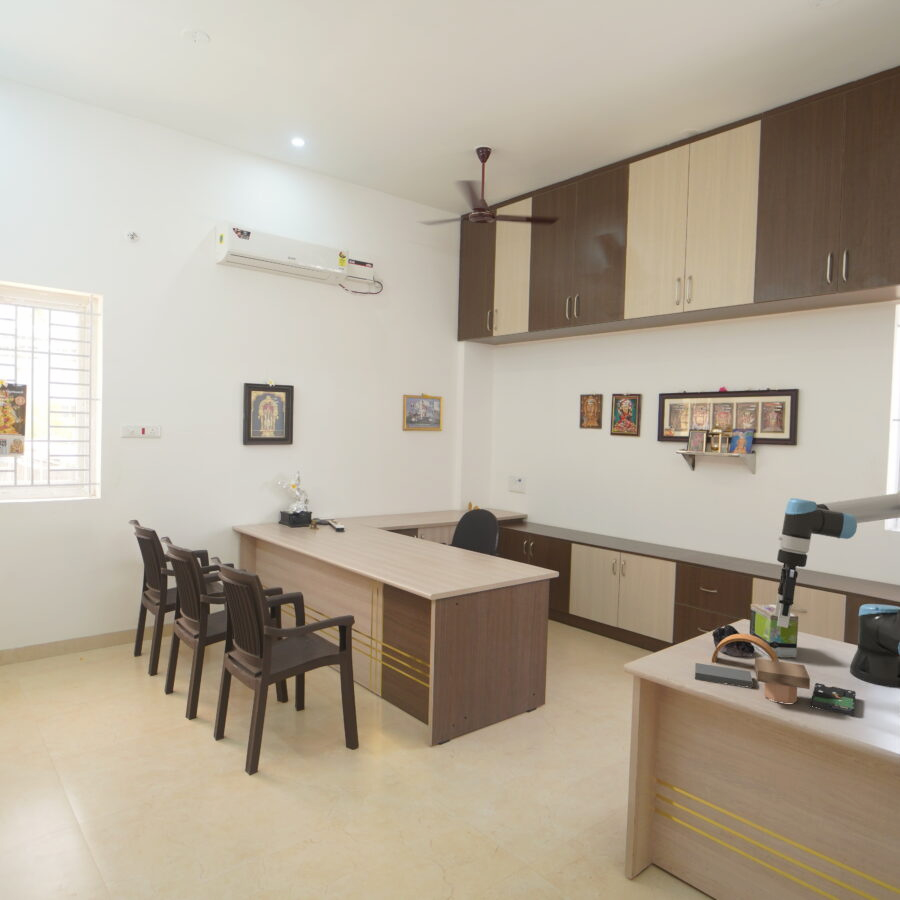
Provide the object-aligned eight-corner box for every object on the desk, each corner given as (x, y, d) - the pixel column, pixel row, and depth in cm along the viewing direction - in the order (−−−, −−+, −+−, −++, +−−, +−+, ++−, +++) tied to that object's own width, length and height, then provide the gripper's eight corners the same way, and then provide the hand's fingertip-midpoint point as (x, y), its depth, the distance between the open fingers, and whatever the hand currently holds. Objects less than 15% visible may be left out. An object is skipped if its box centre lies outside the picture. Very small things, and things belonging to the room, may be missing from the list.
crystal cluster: (755, 650, 224) (753, 622, 224) (754, 659, 211) (753, 629, 212) (714, 647, 229) (713, 619, 230) (712, 655, 217) (710, 626, 218)
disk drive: (814, 691, 188) (810, 708, 176) (814, 682, 188) (811, 698, 176) (855, 700, 183) (854, 718, 170) (855, 690, 183) (855, 708, 170)
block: (750, 677, 197) (750, 671, 196) (752, 688, 188) (752, 681, 188) (695, 669, 202) (695, 662, 202) (694, 679, 194) (695, 672, 194)
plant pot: (793, 695, 184) (794, 675, 183) (797, 706, 176) (798, 685, 176) (763, 690, 187) (764, 670, 186) (765, 701, 179) (766, 680, 179)
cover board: (803, 675, 184) (804, 665, 184) (809, 689, 174) (809, 678, 174) (754, 667, 189) (754, 657, 189) (757, 681, 179) (757, 670, 178)
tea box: (797, 658, 215) (799, 615, 214) (768, 657, 215) (770, 614, 214) (775, 643, 230) (777, 603, 229) (747, 642, 230) (749, 602, 229)
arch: (778, 676, 199) (780, 644, 198) (711, 662, 209) (712, 632, 209) (780, 670, 204) (781, 640, 203) (714, 657, 214) (715, 628, 214)
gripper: (776, 543, 197) (764, 609, 198) (782, 552, 175) (768, 627, 175) (803, 549, 194) (791, 616, 195) (812, 559, 172) (799, 634, 172)
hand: (780, 621), depth 185 cm, fingers open, 13 cm apart
